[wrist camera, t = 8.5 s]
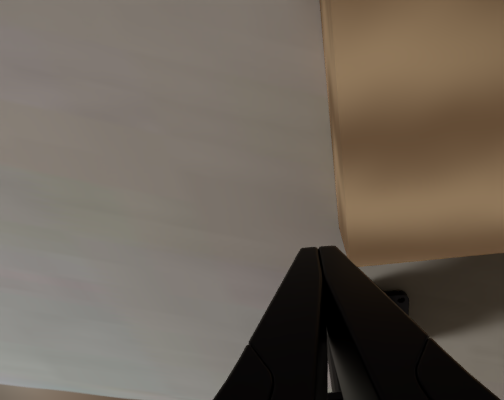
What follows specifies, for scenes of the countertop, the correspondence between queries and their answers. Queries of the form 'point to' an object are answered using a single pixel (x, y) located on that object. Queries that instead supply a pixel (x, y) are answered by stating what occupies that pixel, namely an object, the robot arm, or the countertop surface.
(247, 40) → the countertop surface
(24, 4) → the countertop surface
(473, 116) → the wooden block
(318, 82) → the countertop surface
